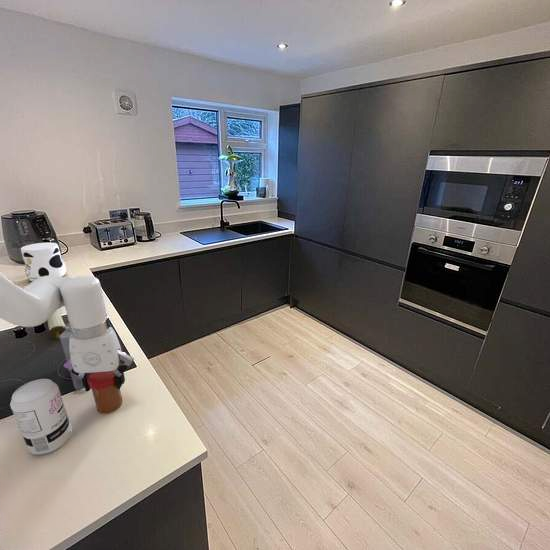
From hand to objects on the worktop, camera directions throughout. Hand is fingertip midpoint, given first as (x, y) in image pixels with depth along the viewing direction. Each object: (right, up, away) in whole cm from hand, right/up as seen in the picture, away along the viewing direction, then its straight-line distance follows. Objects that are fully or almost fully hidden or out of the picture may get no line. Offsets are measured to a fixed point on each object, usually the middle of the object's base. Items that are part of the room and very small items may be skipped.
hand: (105, 385), depth 75 cm
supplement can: (-8, -10, -7) cm, 15 cm away
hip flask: (-13, -1, +14) cm, 20 cm away
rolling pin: (-42, +9, +39) cm, 58 cm away
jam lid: (0, +3, -1) cm, 3 cm away
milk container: (-78, +27, +81) cm, 116 cm away
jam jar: (0, -6, +2) cm, 7 cm away
